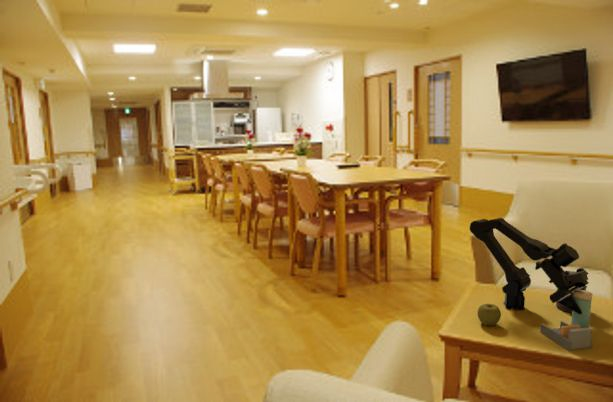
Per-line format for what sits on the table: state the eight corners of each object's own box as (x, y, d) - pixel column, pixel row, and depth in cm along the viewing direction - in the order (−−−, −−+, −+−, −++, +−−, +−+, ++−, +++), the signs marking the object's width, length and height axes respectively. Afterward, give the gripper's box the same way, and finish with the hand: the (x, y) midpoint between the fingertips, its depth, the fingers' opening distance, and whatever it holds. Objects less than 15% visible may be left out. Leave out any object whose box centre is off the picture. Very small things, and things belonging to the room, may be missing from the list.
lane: (540, 331, 171) (541, 314, 170) (561, 329, 173) (563, 311, 171) (568, 350, 157) (570, 331, 156) (592, 347, 159) (593, 329, 158)
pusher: (560, 340, 163) (561, 326, 162) (576, 338, 164) (578, 324, 163) (562, 341, 162) (563, 327, 161) (579, 339, 163) (580, 325, 162)
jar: (573, 330, 171) (576, 295, 169) (568, 323, 177) (571, 289, 175) (591, 331, 170) (595, 296, 168) (586, 324, 176) (589, 290, 173)
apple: (497, 330, 173) (498, 311, 172) (474, 325, 177) (475, 307, 176) (502, 322, 179) (503, 304, 178) (479, 318, 183) (480, 300, 182)
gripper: (560, 267, 167) (592, 307, 160) (584, 256, 178) (615, 293, 171) (536, 283, 174) (566, 322, 168) (561, 272, 186) (590, 308, 179)
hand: (585, 311), depth 171 cm, fingers open, 7 cm apart
